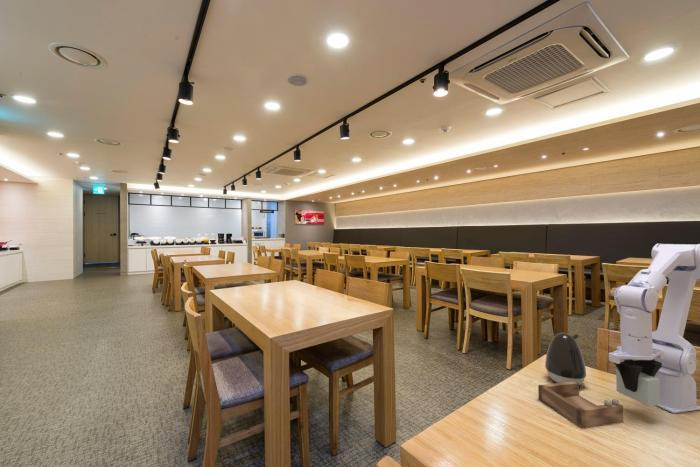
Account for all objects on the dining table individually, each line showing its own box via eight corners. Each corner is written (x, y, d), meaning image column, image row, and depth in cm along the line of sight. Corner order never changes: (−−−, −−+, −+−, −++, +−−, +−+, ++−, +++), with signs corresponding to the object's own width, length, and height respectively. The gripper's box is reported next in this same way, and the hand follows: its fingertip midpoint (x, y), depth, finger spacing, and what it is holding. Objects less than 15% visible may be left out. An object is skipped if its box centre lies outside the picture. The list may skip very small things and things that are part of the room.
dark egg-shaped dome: (595, 388, 87) (594, 336, 88) (568, 393, 85) (567, 340, 85) (562, 373, 97) (562, 326, 97) (537, 377, 94) (536, 329, 95)
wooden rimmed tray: (575, 395, 83) (574, 377, 83) (623, 422, 71) (623, 401, 71) (538, 399, 81) (538, 381, 81) (582, 428, 69) (581, 407, 69)
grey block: (629, 389, 77) (628, 366, 78) (662, 404, 71) (661, 379, 71) (616, 391, 77) (616, 367, 77) (648, 406, 70) (648, 380, 70)
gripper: (640, 327, 79) (641, 378, 79) (595, 331, 76) (597, 384, 76) (673, 336, 72) (675, 392, 72) (626, 340, 69) (627, 398, 69)
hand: (637, 389), depth 74 cm, fingers closed on grey block, 3 cm apart
